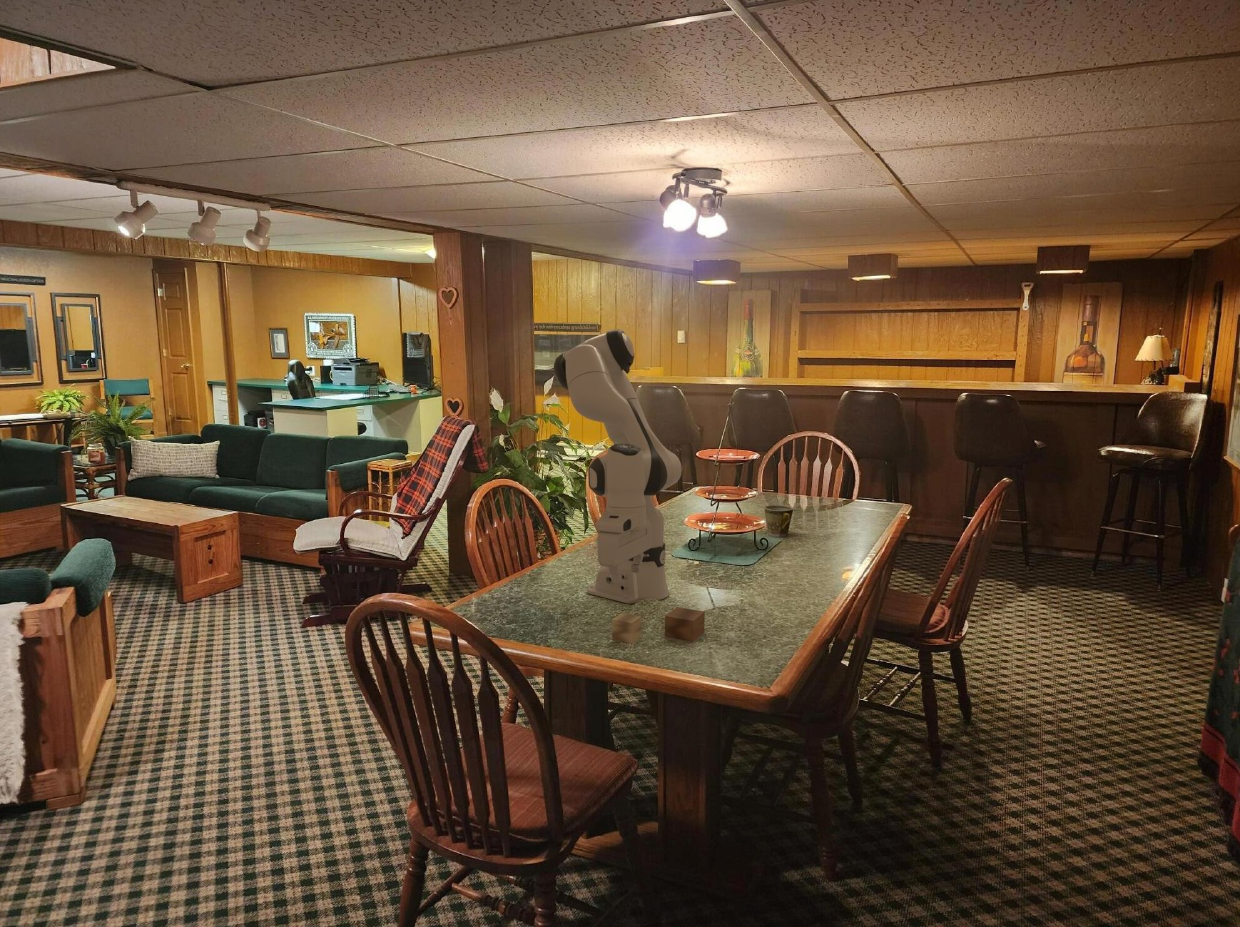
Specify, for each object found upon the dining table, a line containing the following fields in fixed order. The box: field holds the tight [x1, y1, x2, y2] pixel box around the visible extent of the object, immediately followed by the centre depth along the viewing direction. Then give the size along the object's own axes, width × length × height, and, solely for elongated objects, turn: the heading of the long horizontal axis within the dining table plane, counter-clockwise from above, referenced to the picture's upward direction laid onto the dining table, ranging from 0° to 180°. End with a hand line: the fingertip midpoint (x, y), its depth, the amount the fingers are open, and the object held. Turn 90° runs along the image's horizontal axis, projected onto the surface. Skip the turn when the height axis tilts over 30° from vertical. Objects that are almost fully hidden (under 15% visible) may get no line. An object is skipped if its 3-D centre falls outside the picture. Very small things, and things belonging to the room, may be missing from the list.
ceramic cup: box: [764, 504, 794, 538], centre depth 284 cm, size 13×10×10 cm
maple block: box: [611, 612, 642, 644], centre depth 183 cm, size 5×5×6 cm
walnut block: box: [664, 606, 706, 643], centre depth 185 cm, size 7×7×5 cm
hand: (626, 577), depth 181 cm, fingers open, 8 cm apart
